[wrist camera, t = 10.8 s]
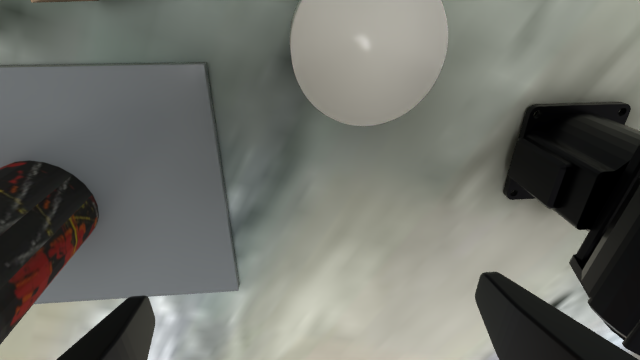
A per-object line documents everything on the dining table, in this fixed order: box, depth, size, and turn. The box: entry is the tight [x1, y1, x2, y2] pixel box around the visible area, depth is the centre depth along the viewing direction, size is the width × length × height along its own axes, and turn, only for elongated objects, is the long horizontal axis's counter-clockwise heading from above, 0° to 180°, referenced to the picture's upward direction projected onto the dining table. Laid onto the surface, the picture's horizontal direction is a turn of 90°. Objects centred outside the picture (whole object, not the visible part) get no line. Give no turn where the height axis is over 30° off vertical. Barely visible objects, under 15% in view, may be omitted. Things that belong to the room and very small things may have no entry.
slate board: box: [0, 62, 239, 304], centre depth 22 cm, size 16×16×1 cm
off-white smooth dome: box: [290, 0, 448, 126], centre depth 17 cm, size 7×7×4 cm
